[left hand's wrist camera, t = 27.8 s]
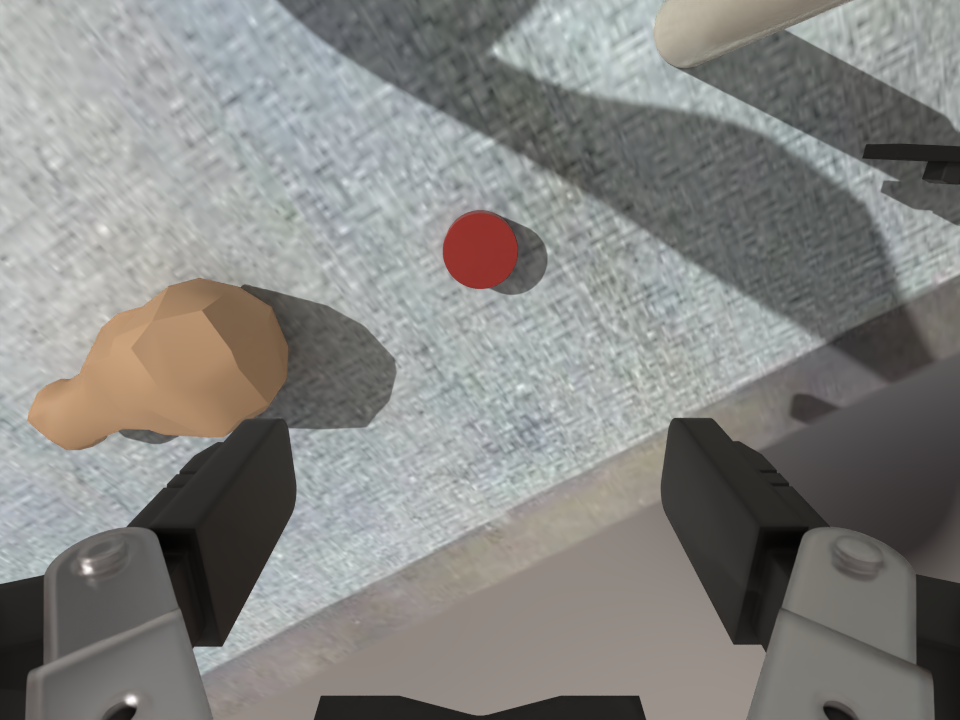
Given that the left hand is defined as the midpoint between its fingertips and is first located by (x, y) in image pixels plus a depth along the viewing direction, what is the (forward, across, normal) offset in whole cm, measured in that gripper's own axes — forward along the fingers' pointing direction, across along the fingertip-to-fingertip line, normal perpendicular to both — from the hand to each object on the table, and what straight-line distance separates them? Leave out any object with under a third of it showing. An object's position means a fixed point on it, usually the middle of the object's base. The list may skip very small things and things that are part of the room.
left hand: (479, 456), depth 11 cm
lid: (+27, 0, 0) cm, 27 cm away
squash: (+28, -23, -9) cm, 37 cm away
